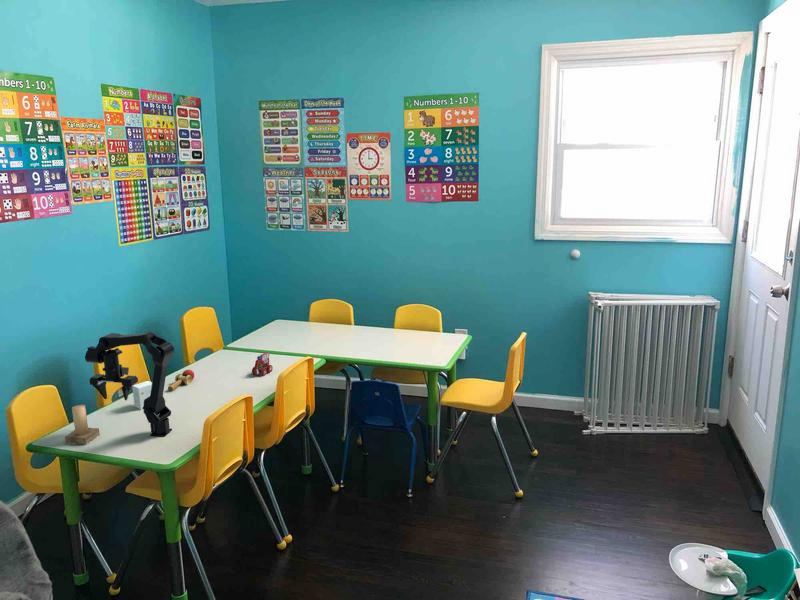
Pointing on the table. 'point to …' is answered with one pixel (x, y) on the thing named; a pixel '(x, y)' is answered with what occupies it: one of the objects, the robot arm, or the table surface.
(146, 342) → the robot arm
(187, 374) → the kendama
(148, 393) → the small box
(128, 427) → the table surface
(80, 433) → the cylinder block
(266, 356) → the toy fire truck
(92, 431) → the base slab
